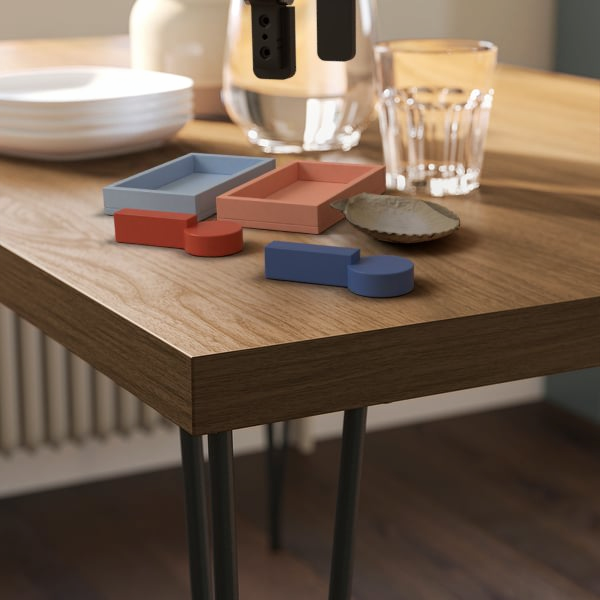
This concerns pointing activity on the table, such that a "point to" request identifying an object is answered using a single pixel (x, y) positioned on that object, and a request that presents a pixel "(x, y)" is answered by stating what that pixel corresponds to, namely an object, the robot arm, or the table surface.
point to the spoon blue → (339, 268)
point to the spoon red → (178, 232)
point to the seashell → (397, 217)
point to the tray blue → (185, 184)
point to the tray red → (299, 195)
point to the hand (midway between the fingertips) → (307, 69)
